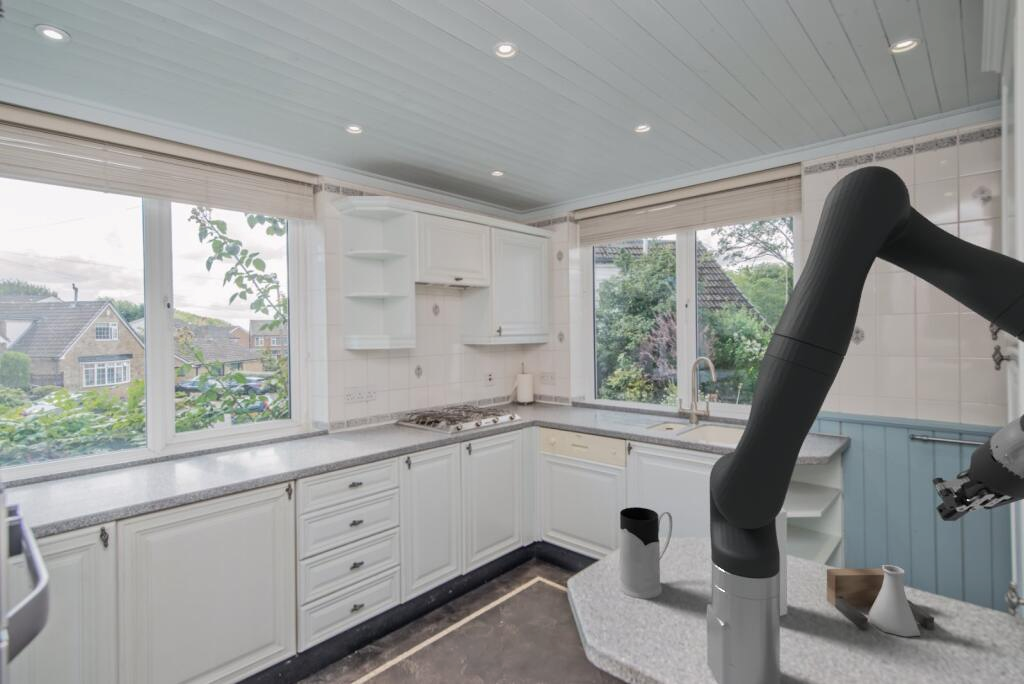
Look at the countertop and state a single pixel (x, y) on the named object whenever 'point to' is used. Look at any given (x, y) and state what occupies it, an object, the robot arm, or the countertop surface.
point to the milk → (782, 558)
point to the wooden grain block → (863, 594)
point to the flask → (893, 605)
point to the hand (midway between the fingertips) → (944, 514)
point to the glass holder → (641, 552)
